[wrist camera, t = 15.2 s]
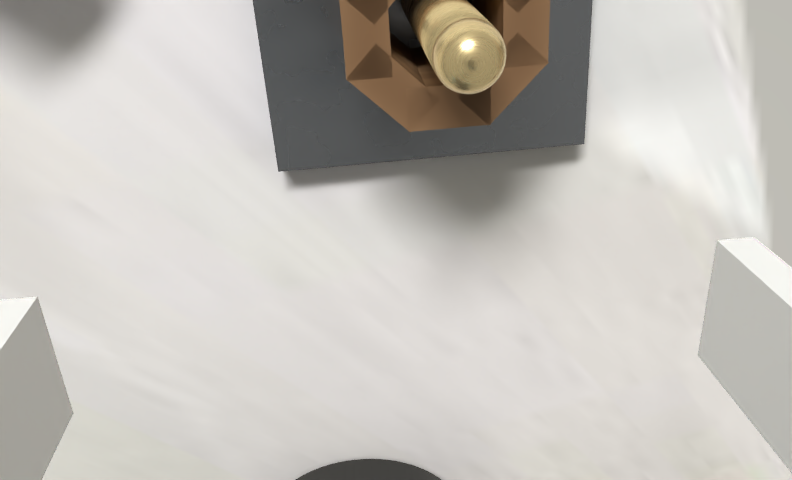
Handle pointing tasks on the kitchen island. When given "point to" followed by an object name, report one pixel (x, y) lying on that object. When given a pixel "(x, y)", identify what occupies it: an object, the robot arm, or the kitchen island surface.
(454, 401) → the kitchen island surface
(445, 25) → the stand
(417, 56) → the bead
